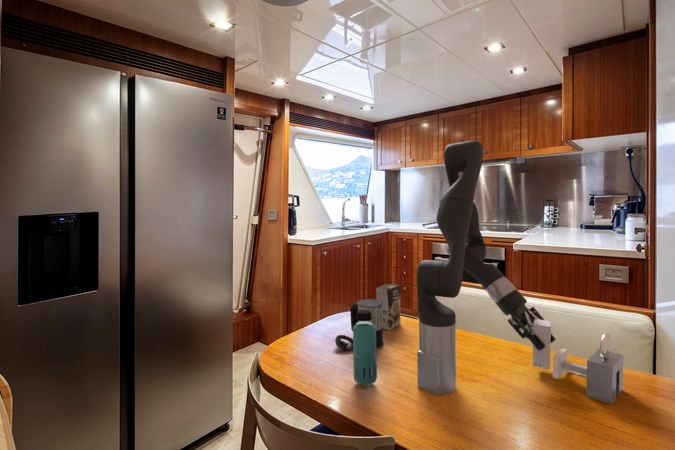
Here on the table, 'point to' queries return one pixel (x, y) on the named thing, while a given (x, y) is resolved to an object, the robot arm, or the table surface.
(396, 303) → the coffee box
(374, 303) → the milk frother
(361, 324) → the beverage bottle
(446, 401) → the table surface
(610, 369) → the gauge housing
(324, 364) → the table surface
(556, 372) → the gauge plunger
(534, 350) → the skincare box
